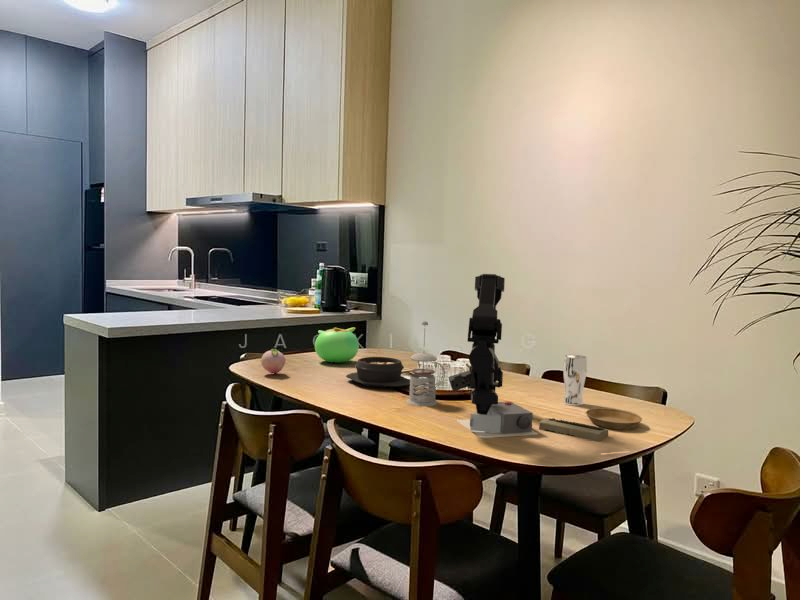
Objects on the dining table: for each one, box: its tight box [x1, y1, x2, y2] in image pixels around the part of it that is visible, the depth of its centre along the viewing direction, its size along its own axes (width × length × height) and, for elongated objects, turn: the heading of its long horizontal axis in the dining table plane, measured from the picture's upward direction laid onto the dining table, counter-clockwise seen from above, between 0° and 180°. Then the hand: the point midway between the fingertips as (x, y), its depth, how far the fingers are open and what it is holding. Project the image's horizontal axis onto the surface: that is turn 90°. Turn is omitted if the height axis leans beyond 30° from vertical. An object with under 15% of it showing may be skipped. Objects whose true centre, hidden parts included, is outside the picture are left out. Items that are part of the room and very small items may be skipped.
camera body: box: [487, 400, 533, 434], centre depth 156 cm, size 13×8×6 cm, turn 18°
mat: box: [456, 418, 539, 439], centre depth 156 cm, size 16×16×1 cm
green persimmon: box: [314, 326, 360, 364], centre depth 243 cm, size 18×17×15 cm
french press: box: [405, 320, 446, 407], centre depth 180 cm, size 10×12×25 cm
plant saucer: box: [585, 407, 643, 430], centre depth 164 cm, size 15×15×3 cm
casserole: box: [345, 356, 410, 388], centre depth 204 cm, size 25×19×8 cm
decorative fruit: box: [260, 347, 286, 374], centre depth 214 cm, size 9×8×10 cm
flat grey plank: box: [538, 417, 609, 443], centre depth 153 cm, size 16×8×3 cm, turn 55°
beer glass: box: [562, 354, 588, 407], centre depth 185 cm, size 7×7×15 cm
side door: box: [469, 412, 504, 433], centre depth 150 cm, size 8×2×4 cm, turn 80°
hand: (480, 422), depth 152 cm, fingers closed
